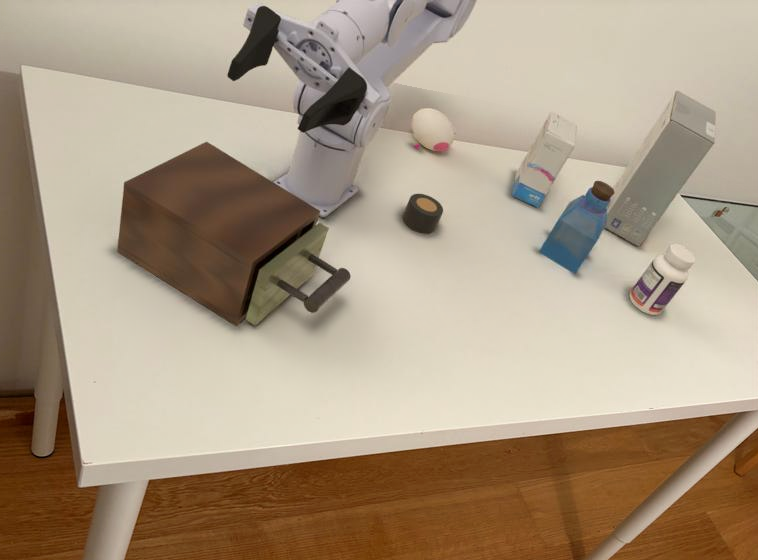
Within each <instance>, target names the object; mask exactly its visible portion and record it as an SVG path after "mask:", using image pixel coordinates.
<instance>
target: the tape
mask: <svg viewBox="0 0 758 560" xmlns="http://www.w3.org/2000/svg"><path fill="white" fill-rule="evenodd" d="M443 213H444V207H443V205H442V204H441V203H440V202H439V201H438V200H437V199H435V198H434V197H432V196H431V195H427V194H424V193H414V194H412V195H410V197H409V199H408V202H407V204H406V206H405V209H404V210H403V213H402V217H401V218H402V221H403V223H404V224H405V225H406V227H408V228H409V229H411V230H412V231H413V232H415V233H418V234H419V233H420V234H425V235H426V234H427V235H428V234H432V233H434V232H435V230H436V228H437V227H438V225H439V222H440V219H441V218H442V215H443Z"/></svg>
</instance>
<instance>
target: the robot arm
mask: <svg viewBox="0 0 758 560" xmlns="http://www.w3.org/2000/svg"><path fill="white" fill-rule="evenodd" d="M335 1H336V2H335V3H334V4H333V5H332V6H330V7H329V8H328V9H326V10H324V12H322V13H321V14H320V15H318V16H317V17H315V18H314V19H313V20H311V21H310V22H307V21H304V20H301V19H299V18H296V17H293V16H289V15H288V14H285V13H282V12H278V11H276V10H273V9H271V8H270V7H268V6H267V5H264V4H263V3H261V2H260V1H257V2H256V3H254V4H253V5H252V6H249V8H247V11H246V14H245V17H244V20H243V23H242V26H243V27H244V28H245V29H247V30H248V31H249V34H248V36H247V38H246V40H245V41H244V43H243V45H242V46H241V48H240V50H239V51H238V52H237V53H236V55H235V56H234V57H233V58H232V60H231V61H230V65H229V68H228V72H227V75H226V76H227V78H228V79H229V80H231V81H232V82H235V81H238V80H240V78H242V77H244V76H245V75H246V74H247V73H248V72H249V71H252V70H253V69H256V68H258V67H265V66H266V65H268V63H269V60H270V57H271V54H272V52H273V48H274V50H275V51H276V52H277V53H278V55H279V56H280V57H281V59H282V60H283V61H284V62H285V63H286V65H287V66H288V68H289V69H290V70H291V71H292V72H293V74H294V75H295V77H297V79H298V81H297V83H296V85H295V88H294V90H293V95H292V106H293V110H294V113H296V114H297V115H298V119H297V121H296V122H297V124H298V127H297V130H298V131H299V134H298V137H297V141H296V144H295V148H294V150H293V154H292V157H291V158H292V159H291V161H290V165H289V170H288V171H287V173H285V174H284V175H282V176H281V177H279V178H277V179H276V180H274V181H273V182H274V183H275V184H277V185H279V186H280V187H282V188H284V189H285V190H287V191H288V192H290V193H292V194H293V195H295V196H297V197H298V198H300V199H302V200H303V201H305V202H306V203H308V204H310V205H311V206H313V207H315V208H316V209H318V210H320V214H319V217H321V218H326V217H328V216H329V215H330V214H331V213H333V212H334V211H335V210H336V209H338V208H339V207H340V206H341V205H343V204H344V203H346V202H347V201H348V200H349V199H350V198H352V197H353V196H355V194H357V193H358V191H359V188H357V187H356V186H354V182H355V179H356V176H357V173H358V170H359V168H360V165H361V163H362V159H363V157H364V154H365V151H366V147H367V146H368V145H370V144H371V143H372V141H373V140H374V139H375V137H376V136H377V134H378V132H379V130H380V128H381V127H382V126H383V125H384V123H385V120H386V118H387V116H388V113H389V110H390V106H391V98H392V95H391V92H390V91H389V89H388V88H389V87H390V86H391V85H392V84H393V83H394V82H395V81H396V80H397V79H398V78H399V77H400V76H401V75H402V74H403V73H404V72H405V71H407V69H409V68H410V67H411V66H412V65H413V64H414V63H415V62H416V61H417V60H418V59H419V58H420V57H421V56H422V55H423V54H424V53H425V52H426V51H427V50H428V49H429V48H430V47H431V46H432V45H434V44H443V43H448V42H449V41H450V40H451V39H452V38H454V37H455V36H457V34H458V33H459V32H460V31H461V30H462V29H463V27H464V26H465V24H466V22H467V21H468V20H469V18H470V16H471V14H472V12H473V10H474V7H475V5H476V3H477V0H335Z"/></svg>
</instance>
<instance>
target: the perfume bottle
mask: <svg viewBox="0 0 758 560" xmlns="http://www.w3.org/2000/svg"><path fill="white" fill-rule="evenodd" d="M613 188H614V187H612V186H611V185H609V184H608V183H607V182H604V181H602V180H595V181H594V183H593V185H592V187H589V188H588V190H587V191H586V193H585V194H582V195H580V196H578V197H576V198H575V199H573V200H571V201H569V202H568V204H567V206H566V207H565V209H564V210H563V211H562V212H561V214H560V216H559V217H558V218H557V221H556V222H555V224H554V226H553V228H552V229H551V231H550V232H549V234H548V236H547V237H546V239H545V240H544V242H543V244H542V245H541V247H540V249H539V250H538V253H540V254H541V255H543V256H544V257H546V258H547V259H549V260H551V261H553V262H554V263H556V264H557V265H559V266H560V267H563V268H564V269H566V270H567V271H568V272H571V273H572V274H574V275H576V274H577V272H578V271H579V269H580V268H581V266H582V265H583V264H584V262H585V260H587V259H586V258H587V257H588V256H589V254H590V253H591V252H592V250H593V249H594V247H595V245H596V244H597V242H598V241H599V239H600V237H601V235H602V233H603V231H604V230H605V229H606V228H605V226H606V224H607V209H606V207H607V206H608V205H609V203H610V202H611V199H610V198H611V197H612V196H613V195H614V193H615V192H614V190H613Z"/></svg>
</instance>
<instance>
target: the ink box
mask: <svg viewBox="0 0 758 560" xmlns="http://www.w3.org/2000/svg"><path fill="white" fill-rule="evenodd" d="M577 127H578V125H577V124H576V123H574V122H572V121H570V120H568V119H567V118H565V117H564V116H561V115H560V114H557V113H556V112H554V111H551V112H549V114H548V115H547V118H546V120H545V121H544V122H543V125H542V127H541V128H540V130H539V132H538V134H537V135H536V137H535V138H534V140H533V143H532V144H531V146H530V148H529V149H528V152H527V153H526V155H525V157H524V159H523V160H522V163H521V164H520V166H519V168H518V169H517V171H516V173H515V177H514V182H513V187H512V191H511V196H512V197H513V198H516V199H518V200H521V201H522V202H525V203H527V204H529V205H531V206H533V207H536V208H537V209H538V208H539V207H540V206H541V203H542V202H543V201H544V198H546V196H547V193H548V192H549V190H550V189H551V187H552V185H553V184H554V182H555V180H556V179H557V177H558V175H559V173H560V172H561V170H562V169H563V167H564V166H565V164H566V162H567V160H568V159H569V158H570V156H571V154H572V152H573V151H574V148H575V147H576V138H577V129H578V128H577Z"/></svg>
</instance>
